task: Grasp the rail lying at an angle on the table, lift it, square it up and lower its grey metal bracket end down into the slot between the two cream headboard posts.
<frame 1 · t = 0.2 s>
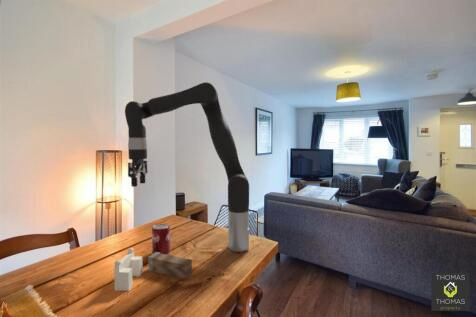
hand: (138, 184, 103), 29 cm above the table, fingers open, 8 cm apart
rail: (170, 271, 85), on the table
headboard: (129, 280, 79), on the table
soda can: (161, 254, 99), on the table
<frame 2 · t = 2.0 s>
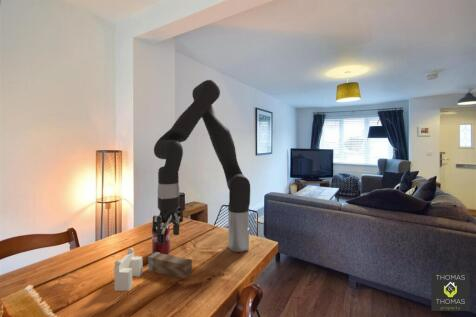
hand: (168, 239, 84), 12 cm above the table, fingers open, 8 cm apart
nothing on the table moved.
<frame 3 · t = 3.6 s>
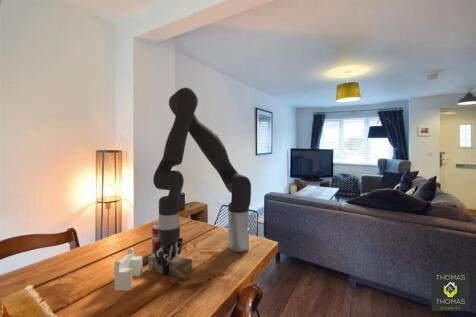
hand: (170, 270, 85), 0 cm above the table, fingers closed on rail, 4 cm apart
rail: (170, 271, 85), on the table, touching gripper
everything else where it was.
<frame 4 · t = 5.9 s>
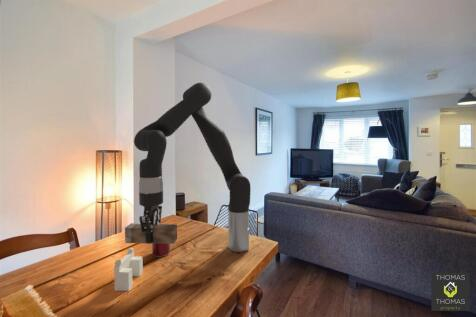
hand: (152, 239, 78), 14 cm above the table, fingers closed on rail, 4 cm apart
rail: (152, 240, 78), point 14 cm above the table, touching gripper
everything else where it was.
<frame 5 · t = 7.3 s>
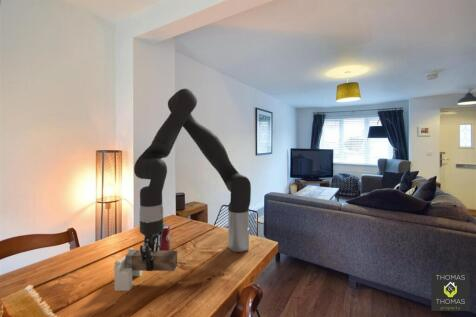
hand: (152, 266, 79), 5 cm above the table, fingers closed on rail, 4 cm apart
rail: (152, 267, 79), point 5 cm above the table, touching gripper
everything else where it was.
when the fingers open (2 cm above the table, at t = 8.3 s): rail drops 1 cm, on the table.
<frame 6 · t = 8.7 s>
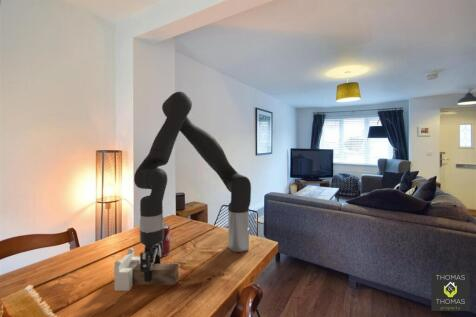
hand: (152, 274, 79), 2 cm above the table, fingers open, 7 cm apart
rail: (153, 280, 79), on the table
everything else where it was.
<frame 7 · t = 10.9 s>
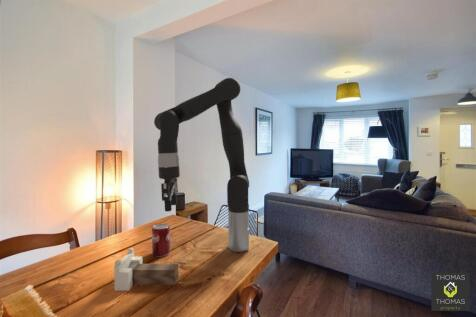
hand: (171, 207, 87), 23 cm above the table, fingers open, 8 cm apart
nothing on the table moved.
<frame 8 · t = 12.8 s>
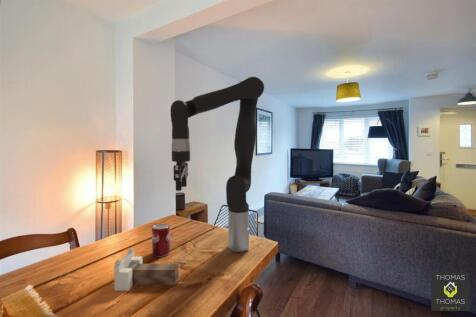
hand: (181, 188, 97), 28 cm above the table, fingers open, 8 cm apart
nothing on the table moved.
at the end: rail 0.4 cm from the target spot on the table beside the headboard, on the table; rail tilted 0°; the gripper is holding nothing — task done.
